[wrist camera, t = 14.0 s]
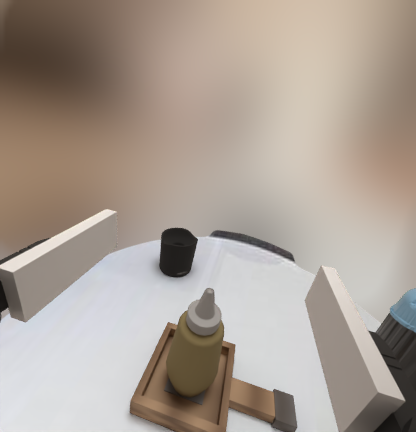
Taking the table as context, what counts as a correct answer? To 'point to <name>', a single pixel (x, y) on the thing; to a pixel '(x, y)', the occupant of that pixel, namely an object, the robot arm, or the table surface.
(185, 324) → the squeeze bottle
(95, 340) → the table surface
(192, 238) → the pen holder
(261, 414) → the wooden tray with handle
